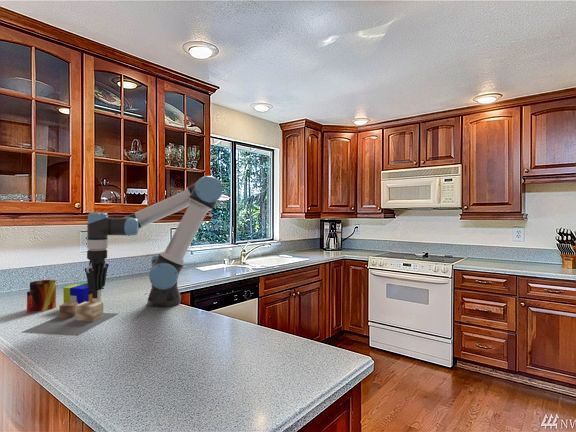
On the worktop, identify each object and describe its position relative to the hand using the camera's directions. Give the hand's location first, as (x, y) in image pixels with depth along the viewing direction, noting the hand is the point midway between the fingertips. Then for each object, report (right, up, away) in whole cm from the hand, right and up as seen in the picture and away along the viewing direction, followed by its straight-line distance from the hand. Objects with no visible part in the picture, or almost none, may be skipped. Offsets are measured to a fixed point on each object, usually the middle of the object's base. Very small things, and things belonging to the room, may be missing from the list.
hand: (96, 305), depth 152 cm
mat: (-4, -5, -10) cm, 11 cm away
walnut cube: (-11, -4, -2) cm, 11 cm away
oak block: (0, -4, -5) cm, 7 cm away
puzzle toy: (-13, -4, +11) cm, 18 cm away
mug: (-27, -4, +7) cm, 28 cm away
